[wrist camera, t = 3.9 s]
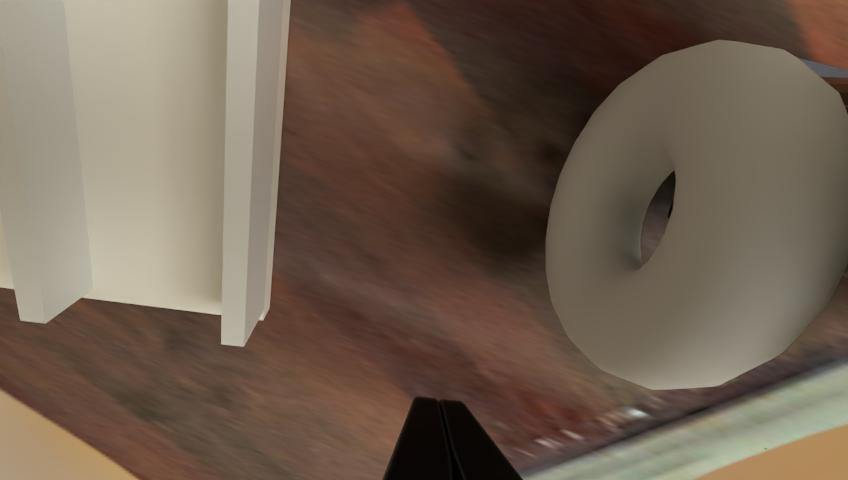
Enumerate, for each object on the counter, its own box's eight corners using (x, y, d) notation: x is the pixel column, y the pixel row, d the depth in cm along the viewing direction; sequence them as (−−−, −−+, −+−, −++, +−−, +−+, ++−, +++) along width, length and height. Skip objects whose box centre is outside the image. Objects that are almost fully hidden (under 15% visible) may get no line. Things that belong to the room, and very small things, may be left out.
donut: (579, 289, 19) (745, 490, 10) (509, 275, 19) (617, 474, 10) (677, 61, 16) (1068, 52, 7) (594, 36, 15) (892, -11, 6)
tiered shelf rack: (302, -177, 13) (270, -261, 9) (269, 307, 19) (243, 357, 16) (-250, -330, 11) (-525, -498, 8) (-88, 261, 17) (-201, 307, 14)
